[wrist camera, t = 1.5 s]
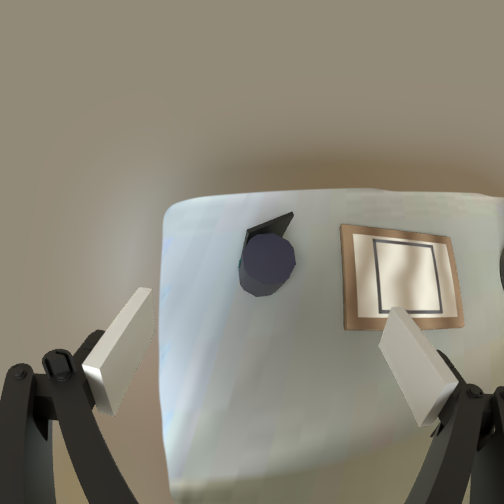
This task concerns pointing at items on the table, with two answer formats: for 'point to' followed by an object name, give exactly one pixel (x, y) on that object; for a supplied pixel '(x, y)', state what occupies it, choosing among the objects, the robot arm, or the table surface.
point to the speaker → (266, 257)
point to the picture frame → (398, 278)
